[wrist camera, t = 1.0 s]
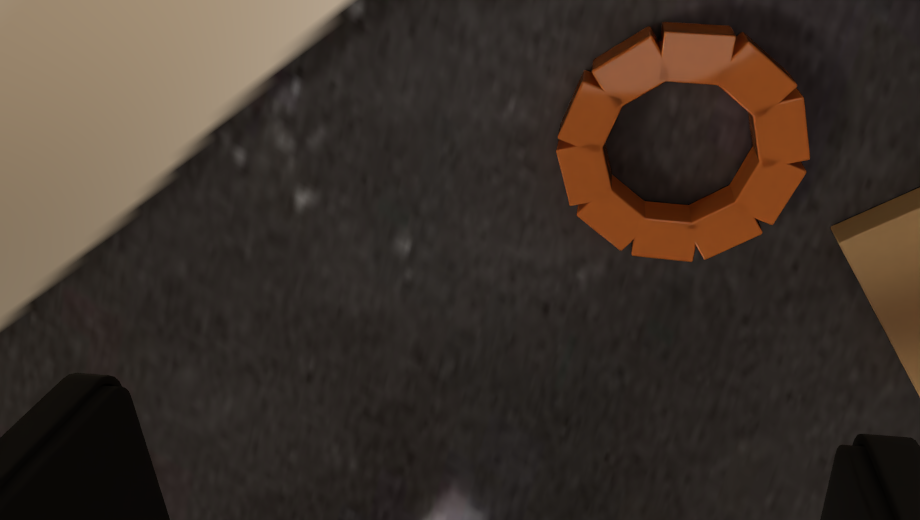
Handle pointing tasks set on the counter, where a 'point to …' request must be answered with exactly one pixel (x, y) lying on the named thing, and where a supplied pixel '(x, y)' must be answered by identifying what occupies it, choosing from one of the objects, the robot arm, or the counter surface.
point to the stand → (889, 270)
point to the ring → (719, 214)
